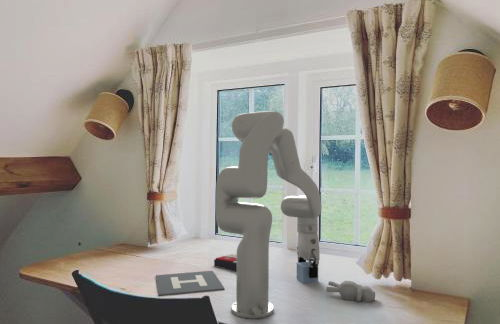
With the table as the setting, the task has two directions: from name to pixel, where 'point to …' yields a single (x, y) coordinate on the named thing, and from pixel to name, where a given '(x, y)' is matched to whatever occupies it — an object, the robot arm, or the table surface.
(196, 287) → the letter mat
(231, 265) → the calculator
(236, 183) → the robot arm
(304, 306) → the table surface
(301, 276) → the blue cube
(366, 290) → the bunny figurine
